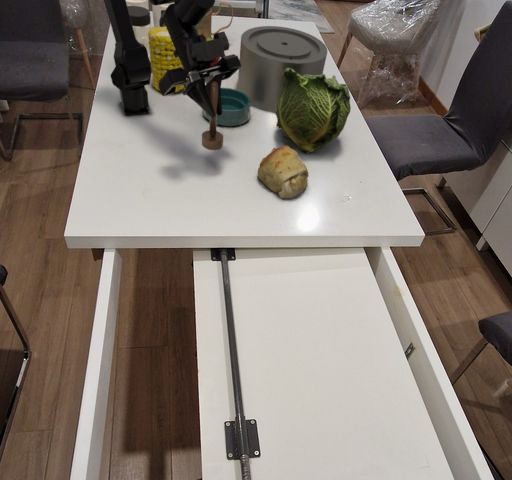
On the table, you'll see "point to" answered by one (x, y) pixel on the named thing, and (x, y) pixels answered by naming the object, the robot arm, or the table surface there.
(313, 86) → the vegetable
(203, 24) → the mug
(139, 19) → the jar
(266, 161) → the pastry
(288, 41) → the container
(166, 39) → the food
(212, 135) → the rounded top peg stand
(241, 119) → the bowl
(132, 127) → the table surface
